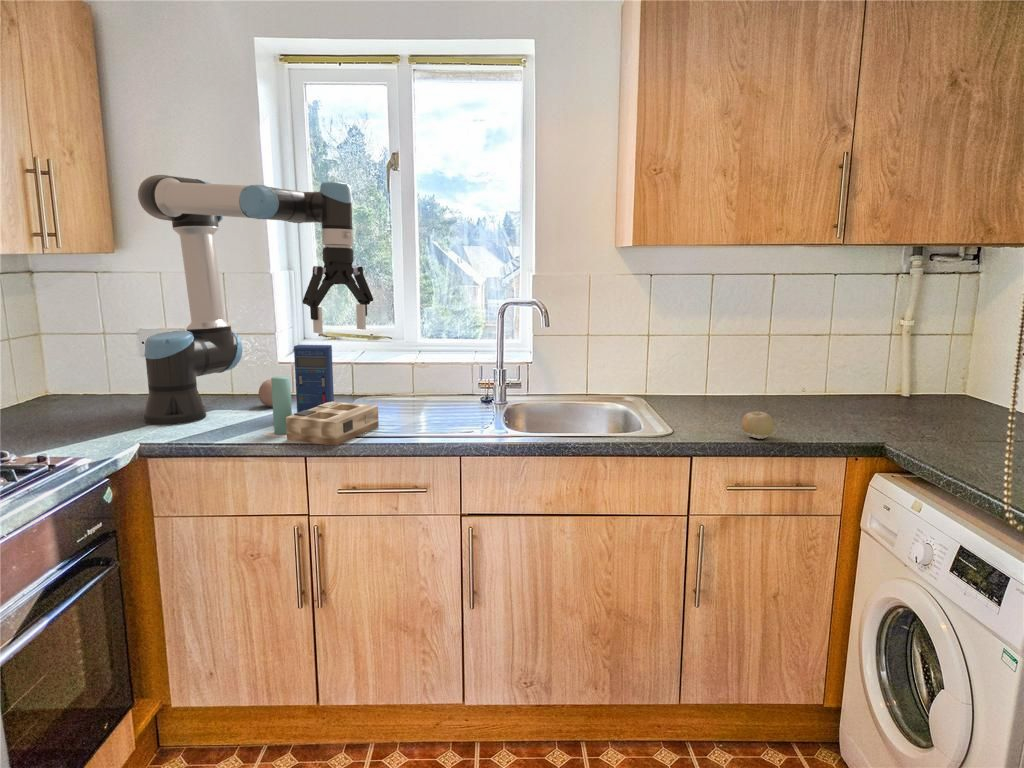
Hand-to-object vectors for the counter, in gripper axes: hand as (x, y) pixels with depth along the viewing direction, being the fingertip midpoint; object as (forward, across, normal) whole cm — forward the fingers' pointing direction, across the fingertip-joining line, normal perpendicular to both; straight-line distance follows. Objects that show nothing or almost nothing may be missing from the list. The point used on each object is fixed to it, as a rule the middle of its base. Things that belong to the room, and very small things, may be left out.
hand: (340, 331), depth 166 cm
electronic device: (+26, +2, +15) cm, 30 cm away
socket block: (+25, -6, -5) cm, 27 cm away
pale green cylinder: (+25, -15, +5) cm, 29 cm away
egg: (+26, +1, +34) cm, 43 cm away
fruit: (+25, +61, -89) cm, 111 cm away
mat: (+25, -15, +5) cm, 30 cm away
